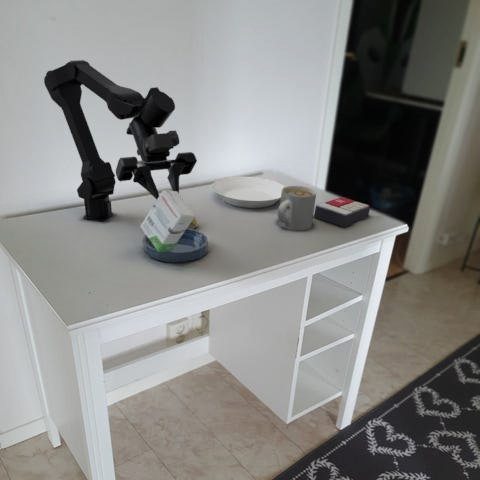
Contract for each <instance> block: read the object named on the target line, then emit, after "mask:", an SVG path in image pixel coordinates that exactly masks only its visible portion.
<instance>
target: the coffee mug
mask: <svg viewBox="0 0 480 480" xmlns="http://www.w3.org/2000/svg"><path fill="white" fill-rule="evenodd" d="M316 199H317V191H316V190H315V189H313V188H312V187H308V186H303V185H287V186H285V187H284V188H283V189H282V192H281V198H280V203H279V207H278V210H277V218H278V222H277V223H278V225H279V226H280V227H281V228H283V229H286V230H291V231H306V230H310V229H311V228H312V227H313V226H312V225H313V219H314V214H315V207H316Z"/></svg>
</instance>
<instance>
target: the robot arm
mask: <svg viewBox="0 0 480 480" xmlns="http://www.w3.org/2000/svg"><path fill="white" fill-rule="evenodd" d="M45 73H46V74H45V76H44V77H43V83H44V86H45V88H46V90H47V93H48V94H49V96H50V98H51V100H52V101H53V102H54V103H55V104H56V105H57V106H58V107H59V108H61V110H62V113H63V115H64V119H65V121H66V124H67V127H68V129H69V131H70V134H71V137H72V139H73V142H74V145H75V147H76V150H77V152H78V155H79V158H80V161H81V168H80V169H81V170H80V178H81V183H80V184H79V186H78V187H77V189H76V192H77V196H78V197H79V198H80V199H81V200H83V202H84V211H85V215H83V217H82V219H83V220H90V221H98V222H105V221H107V220H108V219H109V218H110V217H112V216H113V215H114V212H113V209H112V201H111V200H110V195H114V191H115V187H116V186H115V185H116V179H117V181H119V182H126V181H127V182H128V181H131V180H132V181H133V183H136V184H138V185H140V186H141V187H143V188H144V189H145V190H146V191H147V192H148V193H149V194H150V195H151V196H152V197H153V198H155V200H157V199H158V197H159V195H160V193H159V191H158V188H157V185H156V183H155V180H154V178H153V176H152V171H162V170H166V171H168V175H167V181H168V183H169V185H170V187H171V191H177V192H178V193H179V194H180V176H182V175H190V174H191V173H192V171H193V170H194V167H195V165H196V164H197V162H198V159H197V157H196V154H195V153H194V152H193V151H192V152H191V151H187V152H186V151H185V152H177V155H176V156H175V159H168V157H170V155H171V151H170V150H173V149H174V147H177V146H178V145H180V137H179V134H178V132H177V130H168V132H165V133H158V131H157V128H158V129H160V128H162V127H163V126H164V124H166V122H167V120H168V119H169V118H170V116H171V115H172V114H173V113H174V111H175V109H176V105H175V102H174V100H173V98H172V97H170V96H169V95H168V94H167V93H166V92H163V91H161V90H160V89H159V87H157V86H156V87H150V88H149V89H148V92H147V94H146V96H145V97H144V96H143V95H142V93H141V92H139V91H137V90H134V89H132V88H131V87H126V86H121V85H118V84H117V83H116V82H114V81H113V80H111V79H110V78H109V77H107V76H105V75H104V74H103V73H101V71H99V70H97V69H96V68H95V67H93V66H92V65H91V64H90V63H89V62H88V61H86V60H84V59H79V60H78V59H77V60H70V61H68V62H66V63H65V64H64V65H62V66H60V67H57V68H55V69H52V70H48V71H47V72H45ZM82 86H84V87H85V88H87V89H88V90H89V91H90V92H92V93H93V94H95V95H96V96H98V98H100V99H102V100H103V101H104V103H106V106H107V109H108V111H109V112H111V114H113V116H114V117H115V118H117V119H118V120H120V121H122V120H123V121H124V120H129V119H132V120H131V121H130V122H129V124H128V127H127V128H126V132H125V133H126V135H129V136H133V139H134V143H135V145H136V148H137V149H136V155H137V156H140V159H141V160H138V158H137V157H136V156H125V157H119V159H118V160H117V161H118V162H117V165H116V167H115V168H116V169H115V173H114V171H113V168H112V164H111V163H110V161H105V160H103V159H102V158H101V157H100V153H99V150H98V149H97V145H96V142H95V140H94V137H93V134H92V132H91V129H90V126H89V124H88V121H87V119H86V115H85V113H84V110H83V108H82V105H81V100H82V93H83V90H82ZM115 177H116V178H115Z"/></svg>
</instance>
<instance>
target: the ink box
mask: <svg viewBox="0 0 480 480" xmlns="http://www.w3.org/2000/svg"><path fill="white" fill-rule="evenodd" d="M194 217H195V218H196V215H195V213H194V212H193V211H192V210H191V208H190V207H189V205H188V204H187V203H186V201H185V200H184V198H183V197H182V195H181V194H180V192H179V193H178V192H177V191H173V190H169V189H168V190H167V189H164V190H163V189H162V191H161V192H160V193H159V197H158V199H155V202H154V204H153V205H152V207H151V208H150V210H149V212H148V213H147V215H146V216H145V218H144V219H143V221H142V223H141V224H140V229H141V230H142V231H143V233H144V235H147V237H148V238H149V240H150V241H151V243H152V244H153V245H154V247H155V248H156V250H157V251H158V252H163V251H171V250H172V249H173V248H174V246H175V245H176V243H177V242H178V240H179V239H180V238H181V236H182V235H183V233H184V232H185V230H186V229H187V227H188V226H189V225H190V223H191V222H192V220H193V219H194Z"/></svg>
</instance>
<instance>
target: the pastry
mask: <svg viewBox="0 0 480 480" xmlns="http://www.w3.org/2000/svg"><path fill="white" fill-rule="evenodd" d="M197 226H198V221H197V219H196V216H195V217H194V219H193V220H192V222H191V223H190V225H189V226H188V227H187V228H190V229H194V230H195V229H196V228H197Z"/></svg>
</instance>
